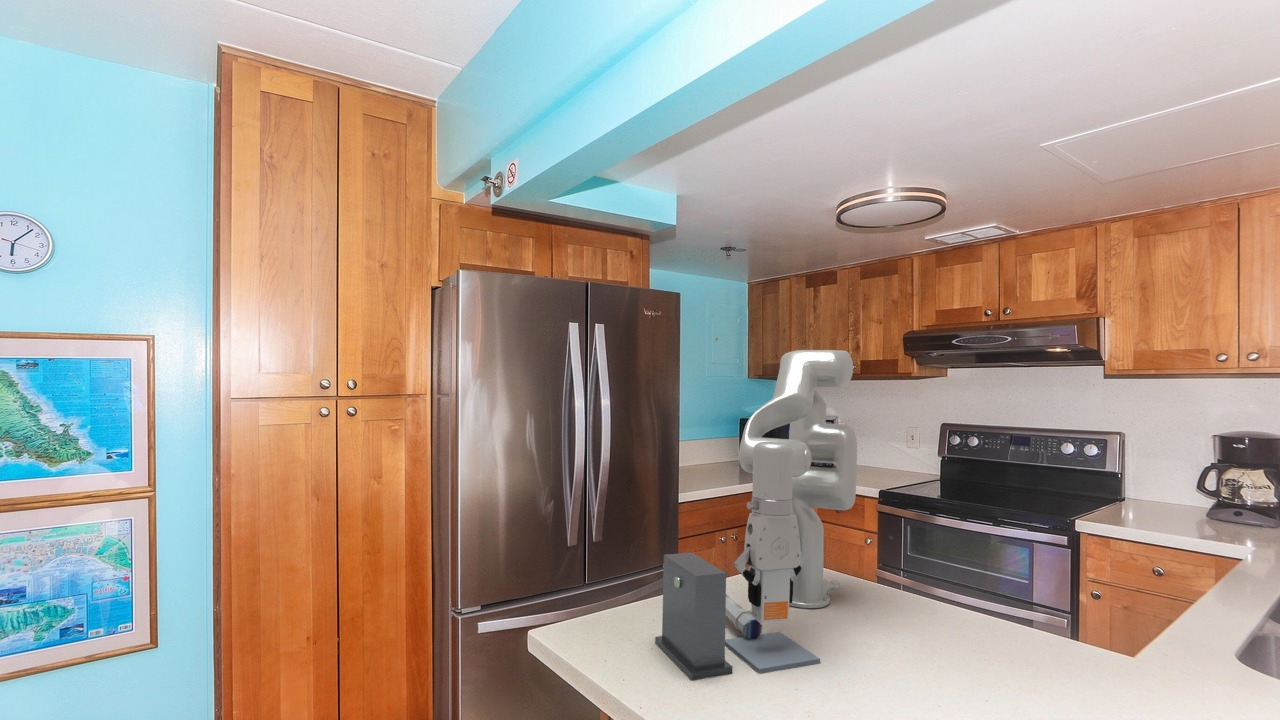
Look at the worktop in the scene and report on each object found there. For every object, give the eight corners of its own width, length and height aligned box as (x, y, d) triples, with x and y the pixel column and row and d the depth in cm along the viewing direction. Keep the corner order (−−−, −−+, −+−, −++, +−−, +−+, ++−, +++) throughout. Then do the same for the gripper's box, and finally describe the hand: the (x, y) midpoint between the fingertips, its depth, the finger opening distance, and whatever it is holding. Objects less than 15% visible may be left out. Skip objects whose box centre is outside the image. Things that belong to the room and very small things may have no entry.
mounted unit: (692, 637, 122) (693, 550, 123) (732, 673, 107) (734, 574, 108) (655, 643, 119) (657, 553, 120) (691, 680, 105) (693, 578, 105)
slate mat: (779, 635, 124) (779, 631, 124) (820, 663, 112) (820, 658, 112) (723, 644, 120) (723, 639, 120) (759, 673, 108) (759, 668, 108)
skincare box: (761, 624, 113) (762, 558, 114) (750, 615, 117) (751, 552, 118) (790, 621, 115) (791, 556, 116) (779, 613, 119) (780, 551, 120)
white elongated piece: (742, 620, 119) (692, 570, 143) (740, 653, 120) (690, 597, 143) (766, 617, 121) (712, 568, 145) (763, 650, 121) (711, 595, 145)
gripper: (742, 512, 111) (741, 614, 110) (821, 508, 117) (820, 604, 116) (722, 505, 118) (720, 600, 117) (798, 501, 124) (796, 592, 123)
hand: (770, 601), depth 116 cm, fingers closed on skincare box, 6 cm apart
